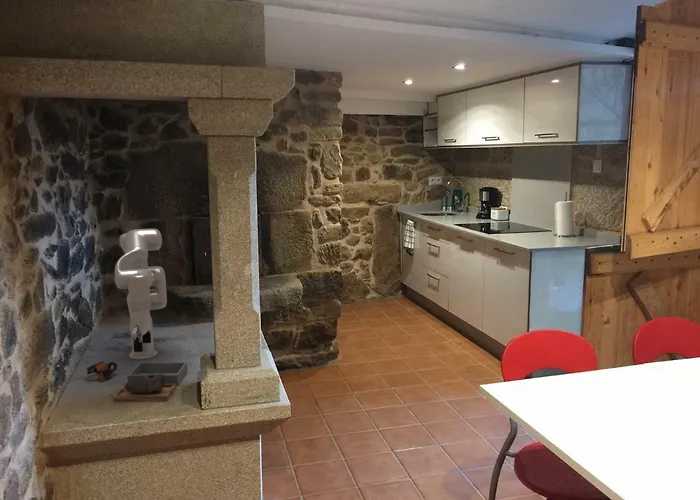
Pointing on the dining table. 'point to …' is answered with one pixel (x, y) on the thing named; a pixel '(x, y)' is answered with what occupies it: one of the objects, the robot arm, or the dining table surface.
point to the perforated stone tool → (146, 384)
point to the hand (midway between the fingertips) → (142, 347)
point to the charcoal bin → (161, 370)
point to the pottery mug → (102, 370)
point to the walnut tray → (145, 395)
